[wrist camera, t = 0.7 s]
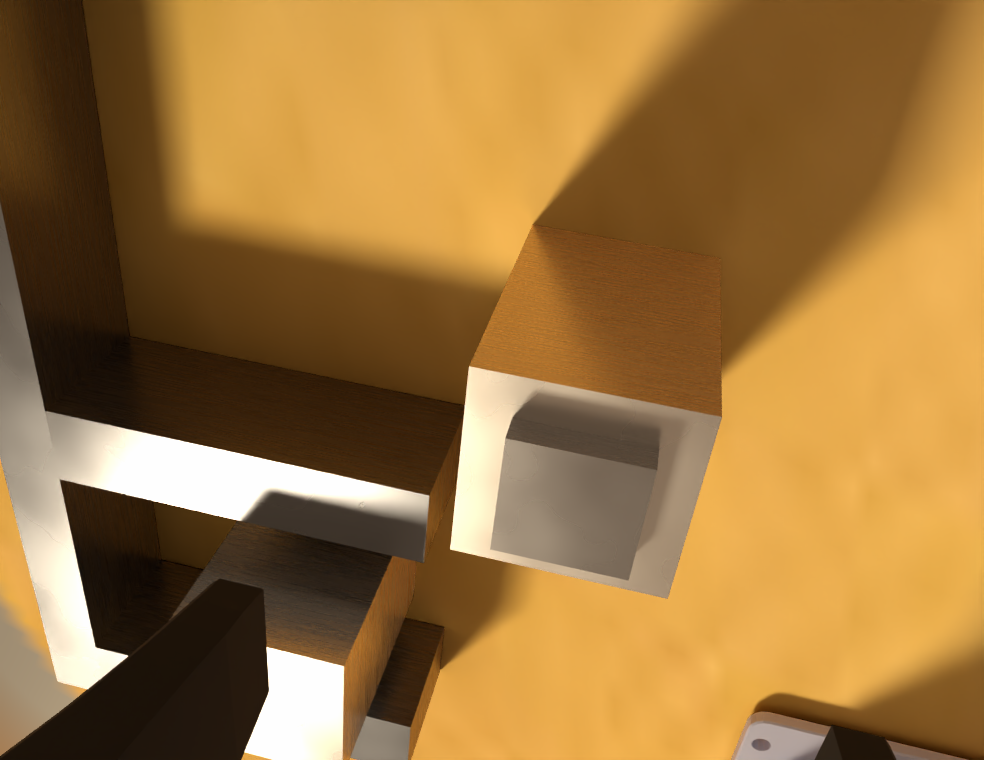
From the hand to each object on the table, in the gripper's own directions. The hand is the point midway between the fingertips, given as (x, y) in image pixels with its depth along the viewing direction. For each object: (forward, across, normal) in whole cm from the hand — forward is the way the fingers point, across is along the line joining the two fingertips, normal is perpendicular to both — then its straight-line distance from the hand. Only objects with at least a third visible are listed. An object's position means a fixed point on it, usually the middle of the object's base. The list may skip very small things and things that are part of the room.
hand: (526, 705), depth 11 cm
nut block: (+10, 0, 0) cm, 10 cm away
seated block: (+10, +6, +8) cm, 14 cm away
